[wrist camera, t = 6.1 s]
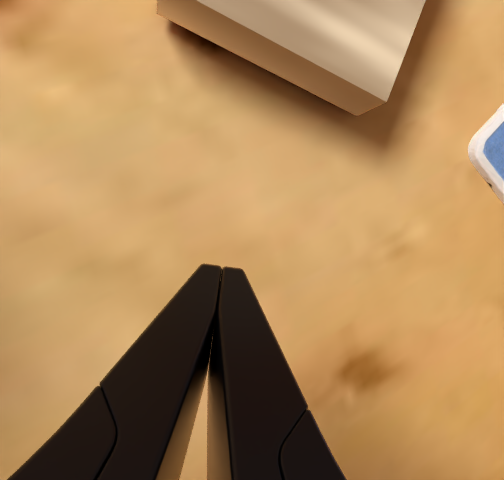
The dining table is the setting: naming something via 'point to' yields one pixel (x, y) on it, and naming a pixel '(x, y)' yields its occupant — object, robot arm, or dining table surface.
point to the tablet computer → (490, 152)
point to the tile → (311, 41)
